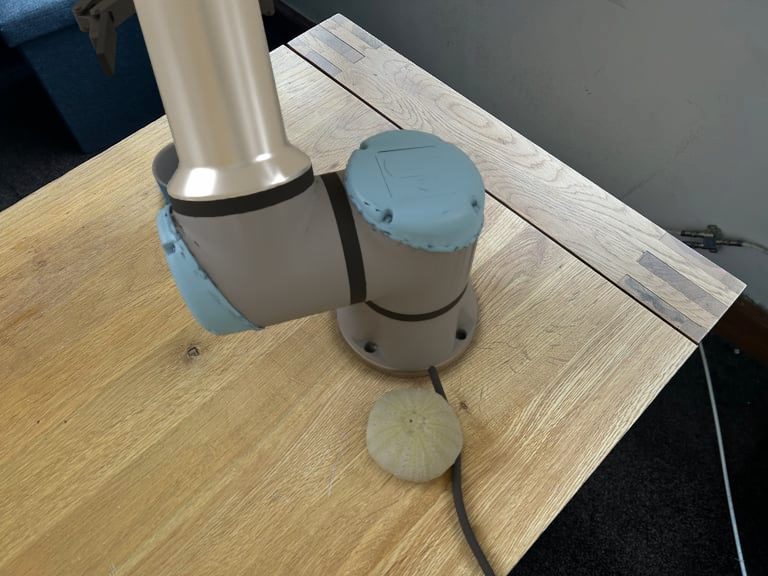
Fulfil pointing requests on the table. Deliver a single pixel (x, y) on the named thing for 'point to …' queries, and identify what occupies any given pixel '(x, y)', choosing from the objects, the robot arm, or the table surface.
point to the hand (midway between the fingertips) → (176, 58)
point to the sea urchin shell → (414, 434)
